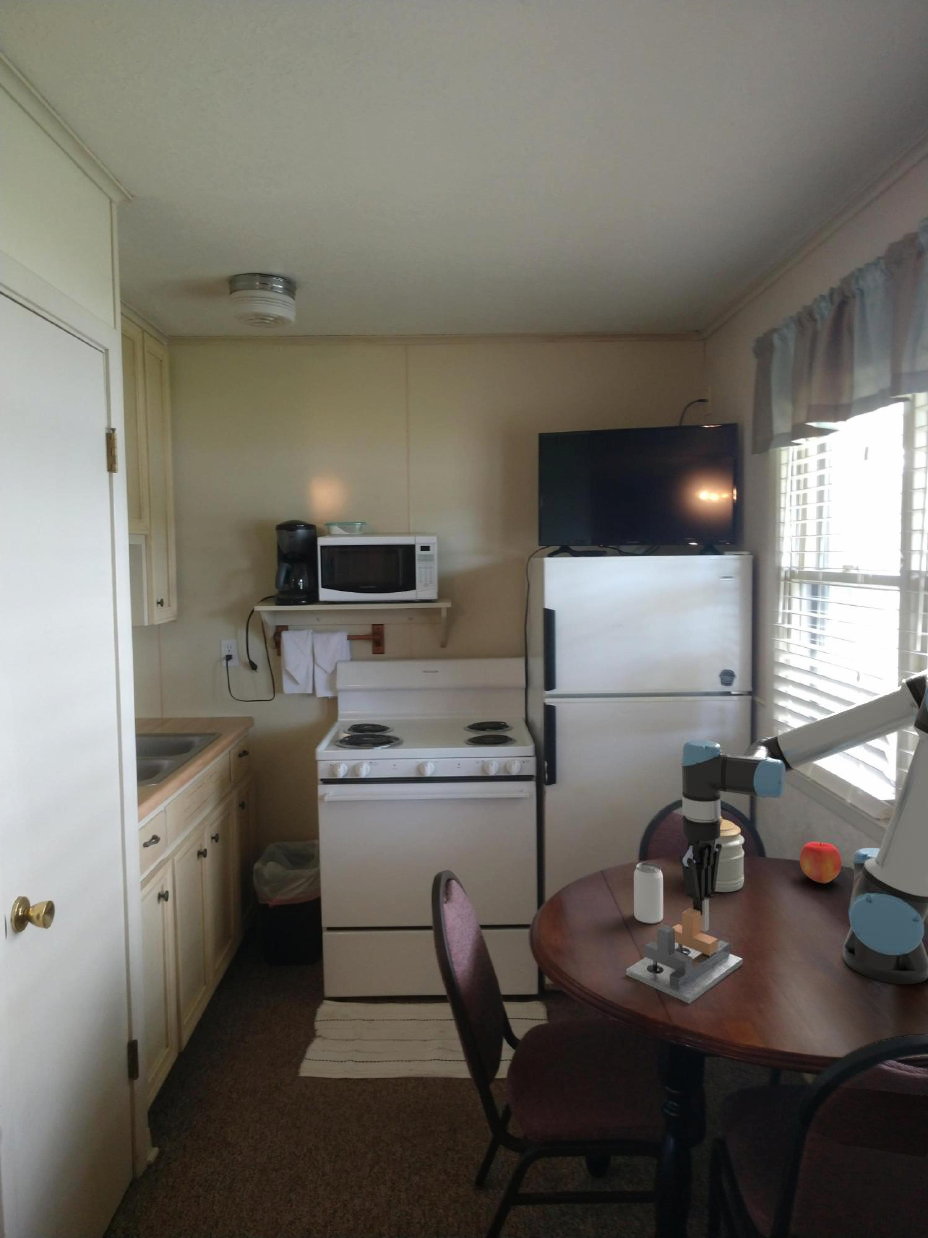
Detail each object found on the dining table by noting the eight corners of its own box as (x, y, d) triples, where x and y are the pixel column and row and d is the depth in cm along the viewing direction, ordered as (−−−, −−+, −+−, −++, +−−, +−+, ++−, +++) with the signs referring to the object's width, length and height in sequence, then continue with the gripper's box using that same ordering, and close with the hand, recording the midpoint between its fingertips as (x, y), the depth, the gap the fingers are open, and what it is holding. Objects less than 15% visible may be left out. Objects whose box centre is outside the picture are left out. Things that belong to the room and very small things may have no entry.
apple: (848, 889, 189) (849, 849, 188) (809, 889, 189) (810, 850, 188) (830, 873, 198) (830, 836, 198) (793, 874, 198) (793, 836, 198)
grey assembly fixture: (742, 964, 154) (742, 914, 154) (689, 1004, 141) (689, 949, 140) (681, 940, 165) (681, 893, 164) (626, 975, 151) (626, 924, 150)
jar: (683, 886, 192) (683, 817, 191) (699, 868, 203) (699, 804, 202) (736, 897, 185) (736, 826, 184) (750, 879, 196) (750, 812, 195)
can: (663, 925, 172) (663, 873, 171) (634, 923, 173) (634, 872, 172) (662, 912, 178) (662, 862, 177) (633, 910, 179) (633, 861, 178)
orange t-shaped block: (717, 961, 152) (717, 917, 152) (709, 967, 150) (709, 922, 150) (678, 945, 159) (677, 903, 158) (670, 950, 157) (669, 908, 156)
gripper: (701, 805, 163) (701, 912, 165) (667, 820, 154) (667, 933, 156) (734, 813, 157) (733, 924, 159) (700, 829, 149) (700, 946, 150)
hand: (700, 928), depth 157 cm, fingers closed
